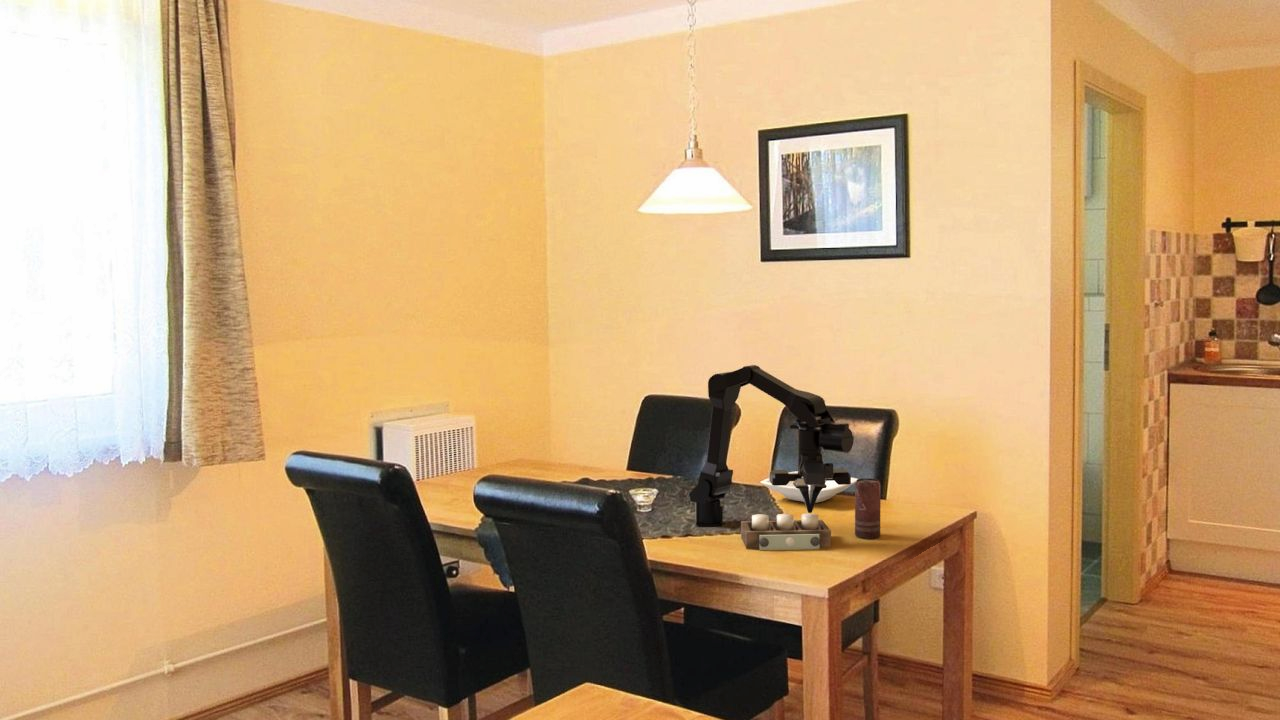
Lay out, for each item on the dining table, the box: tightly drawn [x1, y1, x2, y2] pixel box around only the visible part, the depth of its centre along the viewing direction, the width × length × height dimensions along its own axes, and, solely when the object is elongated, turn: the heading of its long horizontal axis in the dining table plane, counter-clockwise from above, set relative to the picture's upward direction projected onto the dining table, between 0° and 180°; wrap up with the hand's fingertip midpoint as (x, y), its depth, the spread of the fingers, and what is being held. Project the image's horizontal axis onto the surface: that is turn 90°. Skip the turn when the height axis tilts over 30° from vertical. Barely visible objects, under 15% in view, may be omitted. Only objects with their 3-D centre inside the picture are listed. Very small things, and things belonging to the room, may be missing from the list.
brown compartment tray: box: [740, 519, 832, 550], centre depth 265 cm, size 20×11×4 cm, turn 91°
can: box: [854, 478, 882, 540], centre depth 268 cm, size 6×6×14 cm
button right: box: [801, 512, 819, 530], centre depth 264 cm, size 4×4×3 cm
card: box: [759, 534, 820, 551], centre depth 258 cm, size 14×1×4 cm, turn 91°
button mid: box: [776, 513, 795, 530], centre depth 264 cm, size 4×4×3 cm
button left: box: [751, 513, 770, 530], centre depth 264 cm, size 4×4×3 cm
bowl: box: [760, 470, 859, 504], centre depth 311 cm, size 22×23×6 cm
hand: (809, 512), depth 264 cm, fingers closed
